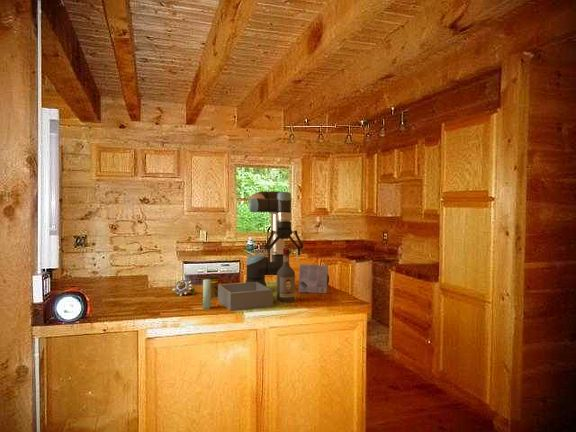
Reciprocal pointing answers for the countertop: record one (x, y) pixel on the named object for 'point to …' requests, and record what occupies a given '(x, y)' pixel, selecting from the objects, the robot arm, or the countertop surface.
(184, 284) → the passion flower
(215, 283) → the condiment
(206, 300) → the peg
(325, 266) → the cake pan box
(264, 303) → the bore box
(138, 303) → the countertop surface
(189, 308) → the countertop surface
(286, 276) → the liquor
